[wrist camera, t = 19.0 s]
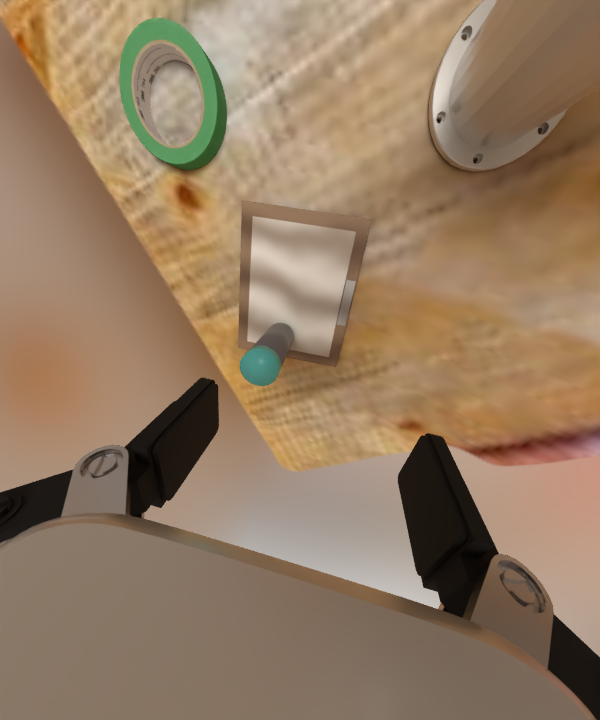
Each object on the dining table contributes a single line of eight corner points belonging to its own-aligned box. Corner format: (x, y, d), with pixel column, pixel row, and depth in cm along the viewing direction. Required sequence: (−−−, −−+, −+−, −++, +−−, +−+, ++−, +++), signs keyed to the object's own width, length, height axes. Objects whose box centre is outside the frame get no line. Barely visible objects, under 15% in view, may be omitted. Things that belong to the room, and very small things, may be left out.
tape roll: (207, 190, 30) (195, 185, 28) (129, 134, 29) (109, 124, 26) (243, 84, 25) (233, 66, 23) (152, 11, 24) (131, -16, 21)
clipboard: (245, 202, 29) (238, 198, 28) (370, 220, 28) (372, 218, 26) (240, 345, 38) (235, 349, 37) (336, 364, 37) (336, 369, 35)
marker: (270, 317, 34) (240, 347, 23) (298, 322, 34) (279, 355, 23) (268, 342, 36) (239, 381, 25) (294, 347, 36) (275, 389, 25)
